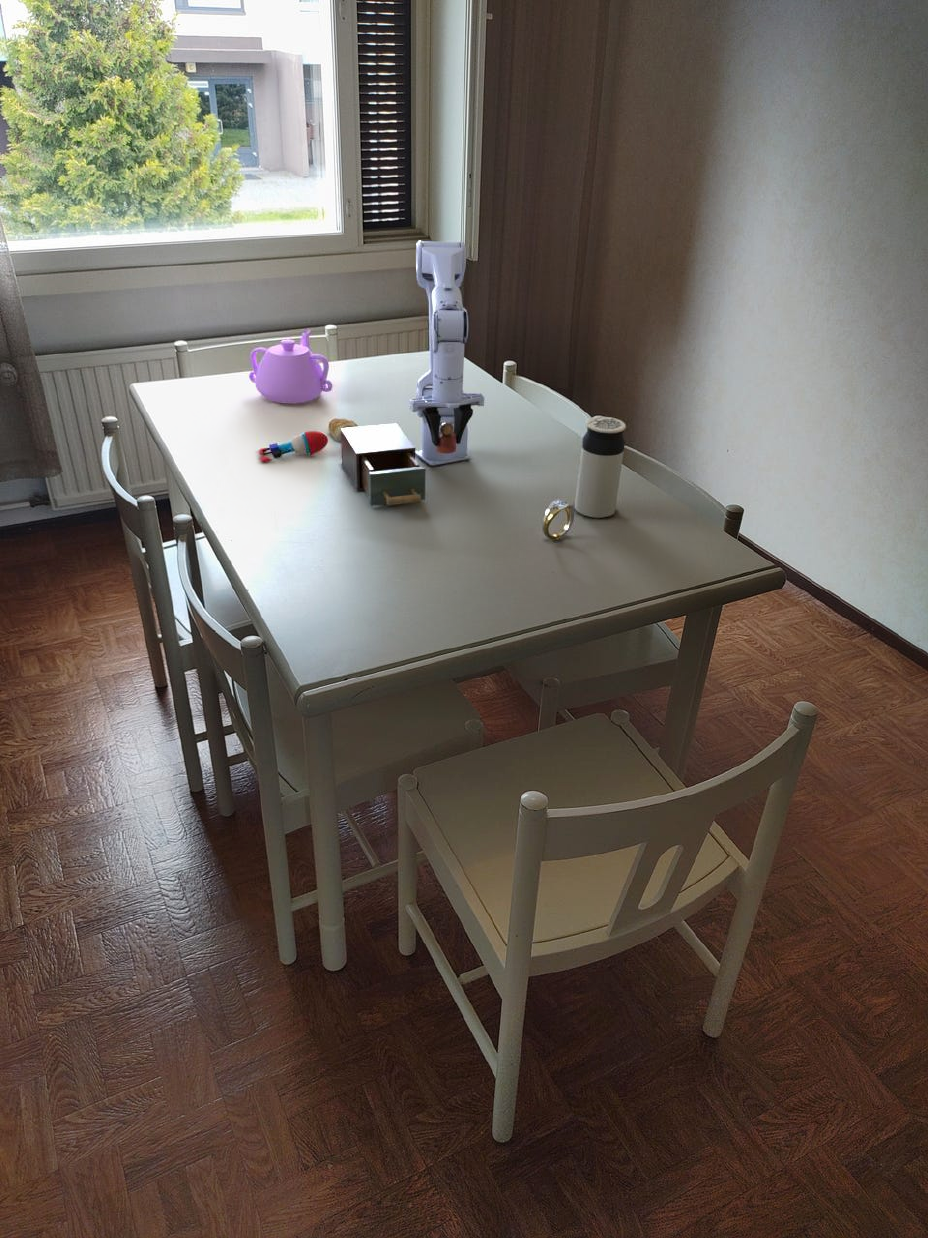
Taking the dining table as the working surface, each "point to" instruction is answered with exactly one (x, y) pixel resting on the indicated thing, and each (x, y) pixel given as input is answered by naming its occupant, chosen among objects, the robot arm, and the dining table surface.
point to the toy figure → (297, 445)
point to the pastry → (339, 427)
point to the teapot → (290, 372)
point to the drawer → (392, 478)
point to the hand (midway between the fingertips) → (446, 442)
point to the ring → (547, 519)
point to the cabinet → (370, 446)
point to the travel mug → (600, 467)
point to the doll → (447, 439)
